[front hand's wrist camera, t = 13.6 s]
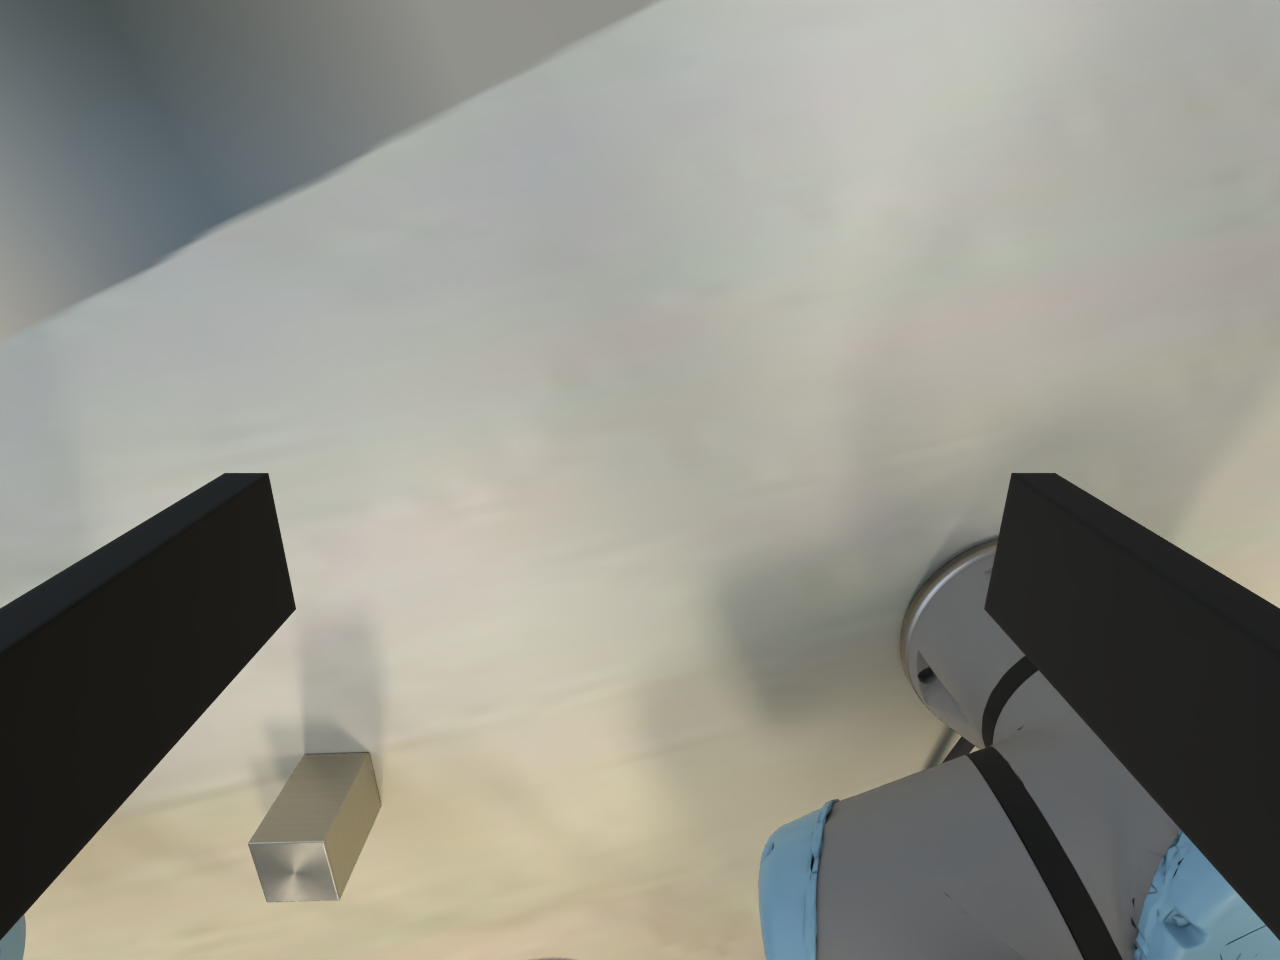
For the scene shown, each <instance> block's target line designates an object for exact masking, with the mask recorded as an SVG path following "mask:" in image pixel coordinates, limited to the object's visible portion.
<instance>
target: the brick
mask: <svg viewBox="0 0 1280 960" xmlns="http://www.w3.org/2000/svg"><path fill="white" fill-rule="evenodd" d="M380 808H381V802H380V798H379V793H378V789H377V784H376V780H375V775H374V771H373V767H372V762H371V758H370V753H338V754H307V755H304V756H303V758H302V759H301V761H300V763H299V764H298V766H297V767H296V769H295V770H294V772H293V774H292V775H291V777H290V778H289V780H288V782H287V783H286V785H285V786H284V788H283V789H282V791H281V793H280V794H279V796H278V797H277V799H276V800H275V802H274V804H273V805H272V807H271V808H270V810H269V811H268V813H267V815H266V816H265V818H264V819H263V821H262V823H261V824H260V826H259V827H258V829H257V830H256V832H255V834H254V835H253V837H252V838H251V840H250V841H249V843H248V845H249V848H250V851H251V855H252V858H253V861H254V864H255V867H256V870H257V873H258V876H259V879H260V882H261V885H262V889H263V892H264V895H265V898H266V901H267V902H294V901H329V900H340V898H341V896H342V893H343V891H344V889H345V887H346V884H347V882H348V880H349V878H350V875H351V873H352V871H353V869H354V866H355V864H356V862H357V860H358V857H359V855H360V853H361V851H362V848H363V846H364V844H365V842H366V840H367V837H368V835H369V833H370V831H371V828H372V826H373V824H374V822H375V819H376V817H377V815H378V813H379V810H380Z"/></svg>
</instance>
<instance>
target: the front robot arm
mask: <svg viewBox="0 0 1280 960" xmlns="http://www.w3.org/2000/svg"><path fill="white" fill-rule="evenodd" d="M295 610H296V607H295V602H294V597H293V592H292V587H291V582H290V577H289V572H288V567H287V563H286V558H285V553H284V548H283V543H282V538H281V533H280V528H279V523H278V518H277V514H276V509H275V504H274V499H273V494H272V489H271V484H270V479H269V474H268V473H224V474H223V475H221V476H219V477H218V478H216V479H214V480H213V481H211V482H209V483H208V484H206V485H204V486H203V487H201V488H200V489H198V490H196V491H195V492H193V493H191V494H190V495H188V496H186V497H185V498H183V499H181V500H180V501H178V502H176V503H175V504H173V505H171V506H170V507H168V508H166V509H165V510H163V511H161V512H160V513H158V514H156V515H155V516H153V517H151V518H150V519H148V520H146V521H145V522H143V523H141V524H140V525H138V526H136V527H135V528H133V529H132V530H130V531H128V532H127V533H125V534H123V535H122V536H120V537H118V538H117V539H115V540H113V541H112V542H110V543H108V544H107V545H105V546H103V547H102V548H100V549H98V550H97V551H95V552H93V553H92V554H90V555H88V556H87V557H85V558H83V559H82V560H80V561H78V562H77V563H75V564H73V565H72V566H70V567H68V568H67V569H65V570H64V571H62V572H60V573H59V574H57V575H55V576H54V577H52V578H50V579H49V580H47V581H45V582H44V583H42V584H40V585H39V586H37V587H35V588H34V589H32V590H30V591H29V592H27V593H25V594H24V595H22V596H20V597H19V598H17V599H15V600H14V601H12V602H10V603H9V604H7V605H5V606H4V607H2V608H0V941H1V939H2V938H3V937H4V936H5V935H6V934H7V933H8V932H9V930H10V929H11V928H12V927H13V926H14V925H15V924H16V923H17V921H18V920H19V919H20V918H21V917H22V916H23V915H24V914H25V913H26V911H27V910H28V909H29V908H30V907H31V906H32V905H33V904H34V902H35V901H36V900H37V899H38V898H39V897H40V896H41V895H42V893H43V892H44V891H45V890H46V889H47V888H48V887H49V886H50V884H51V883H52V882H53V881H54V880H55V879H56V878H57V877H58V875H59V874H60V873H61V872H62V871H63V870H64V869H65V868H66V866H67V865H68V864H69V863H70V862H71V861H72V860H73V859H74V858H75V856H76V855H77V854H78V853H79V852H80V851H81V850H82V849H83V847H84V846H85V845H86V844H87V843H88V842H89V841H90V840H91V838H92V837H93V836H94V835H95V834H96V833H97V832H98V831H99V829H100V828H101V827H102V826H103V825H104V824H105V823H106V822H107V820H108V819H109V818H110V817H111V816H112V815H113V814H114V813H115V812H116V810H117V809H118V808H119V807H120V806H121V805H122V804H123V803H124V801H125V800H126V799H127V798H128V797H129V796H130V795H131V794H132V792H133V791H134V790H135V789H136V788H137V787H138V786H139V785H140V783H141V782H142V781H143V780H144V779H145V778H146V777H147V776H148V774H149V773H150V772H151V771H152V770H153V769H154V768H155V767H156V765H157V764H158V763H159V762H160V761H161V760H162V759H163V758H164V757H165V755H166V754H167V753H168V752H169V751H170V750H171V749H172V748H173V746H174V745H175V744H176V743H177V742H178V741H179V740H180V739H181V737H182V736H183V735H184V734H185V733H186V732H187V731H188V730H189V728H190V727H191V726H192V725H193V724H194V723H195V722H196V721H197V719H198V718H199V717H200V716H201V715H202V714H203V713H204V712H205V711H206V709H207V708H208V707H209V706H210V705H211V704H212V703H213V702H214V700H215V699H216V698H217V697H218V696H219V695H220V694H221V693H222V691H223V690H224V689H225V688H226V687H227V686H228V685H229V684H230V682H231V681H232V680H233V679H234V678H235V677H236V676H237V675H238V673H239V672H240V671H241V670H242V669H243V668H244V667H245V666H246V664H247V663H248V662H249V661H250V660H251V659H252V658H253V657H254V656H255V654H256V653H257V652H258V651H259V650H260V649H261V648H262V647H263V645H264V644H265V643H266V642H267V641H268V640H269V639H270V638H271V636H272V635H273V634H274V633H275V632H276V631H277V630H278V629H279V627H280V626H281V625H282V624H283V623H284V622H285V621H286V620H287V618H288V617H289V616H290V615H291V614H292V613H293V612H294V611H295ZM900 655H901V661H902V665H903V668H904V671H905V674H906V676H907V678H908V680H909V682H910V683H911V685H912V687H913V688H914V690H915V692H916V694H917V695H918V697H919V698H920V700H921V701H922V702H923V703H924V705H925V706H926V707H927V708H928V709H929V710H930V711H931V712H932V713H933V714H934V715H935V716H936V717H937V718H938V719H940V720H941V721H942V722H944V723H945V724H946V725H948V726H949V727H950V728H952V729H953V730H954V731H956V732H957V733H958V734H960V735H961V736H962V737H961V738H960V739H959V741H958V742H957V743H956V745H955V746H954V748H953V749H952V750H951V752H950V753H949V754H948V756H947V757H946V758H945V760H944V761H943V762H942V764H939V765H937V766H934V767H931V768H928V769H926V770H923V771H920V772H918V773H915V774H912V775H910V776H907V777H904V778H902V779H899V780H896V781H894V782H891V783H888V784H886V785H883V786H880V787H878V788H875V789H872V790H870V791H867V792H864V793H861V794H859V795H856V796H853V797H850V798H847V799H844V800H841V801H840V800H838V799H836V800H831V801H829V802H827V803H826V804H825V805H824V806H823V808H821V809H819V810H817V811H814V812H812V813H810V814H808V815H806V816H803V817H801V818H799V819H797V820H795V821H792V822H790V823H788V824H785V825H783V826H781V827H780V828H778V829H777V830H776V831H775V832H774V833H773V834H772V835H771V837H770V838H769V839H768V841H767V843H766V845H765V848H764V851H763V853H762V858H761V865H760V870H759V910H760V920H761V930H762V937H763V944H764V950H765V957H766V960H1280V608H1278V607H1276V606H1275V605H1273V604H1271V603H1270V602H1268V601H1266V600H1265V599H1263V598H1261V597H1260V596H1258V595H1256V594H1255V593H1253V592H1251V591H1250V590H1248V589H1246V588H1245V587H1243V586H1241V585H1240V584H1238V583H1236V582H1235V581H1233V580H1231V579H1230V578H1228V577H1226V576H1225V575H1223V574H1221V573H1220V572H1218V571H1216V570H1215V569H1213V568H1212V567H1210V566H1208V565H1207V564H1205V563H1203V562H1202V561H1200V560H1198V559H1197V558H1195V557H1193V556H1192V555H1190V554H1188V553H1187V552H1185V551H1183V550H1182V549H1180V548H1178V547H1177V546H1175V545H1173V544H1172V543H1170V542H1168V541H1167V540H1165V539H1163V538H1162V537H1160V536H1158V535H1157V534H1155V533H1153V532H1152V531H1150V530H1148V529H1147V528H1145V527H1144V526H1142V525H1140V524H1139V523H1137V522H1135V521H1134V520H1132V519H1130V518H1129V517H1127V516H1125V515H1124V514H1122V513H1120V512H1119V511H1117V510H1115V509H1114V508H1112V507H1110V506H1109V505H1107V504H1105V503H1104V502H1102V501H1100V500H1099V499H1097V498H1095V497H1094V496H1092V495H1090V494H1089V493H1087V492H1085V491H1084V490H1082V489H1080V488H1079V487H1077V486H1076V485H1074V484H1072V483H1071V482H1069V481H1067V480H1066V479H1064V478H1062V477H1061V476H1059V475H1057V474H1056V473H1012V474H1011V479H1010V484H1009V489H1008V494H1007V499H1006V504H1005V509H1004V514H1003V518H1002V523H1001V528H1000V533H999V538H998V539H997V540H993V541H989V542H987V543H984V544H981V545H978V546H976V547H974V548H972V549H970V550H967V551H966V552H964V553H962V554H960V555H958V556H957V557H955V558H954V559H952V560H951V561H949V562H948V563H946V564H945V565H944V566H943V567H941V568H940V569H939V570H938V571H937V572H936V573H935V574H933V575H932V576H931V577H930V578H929V580H928V581H927V582H926V583H925V584H924V585H923V586H922V588H921V589H920V590H919V592H918V593H917V594H916V596H915V598H914V599H913V601H912V603H911V605H910V607H909V609H908V611H907V613H906V616H905V619H904V621H903V625H902V629H901V636H900ZM974 746H976V747H977V748H979V749H980V750H978V751H976V752H973V753H970V752H971V750H972V749H973V748H974ZM969 753H970V754H969Z"/></svg>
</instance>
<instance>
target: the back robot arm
mask: <svg viewBox="0 0 1280 960" xmlns="http://www.w3.org/2000/svg"><path fill="white" fill-rule="evenodd" d="M25 936H26V924H25V916H24V915H23V916H22V917H21V918H20V919H19V920H18V921H17V923H16V924H15V925H14V926H13V927H12V928H11V929H10V930H9V932H8V933H7V934H6V935H5V936H4V937H3V938H2V939H1V941H0V960H23V955H24V948H25Z"/></svg>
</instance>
